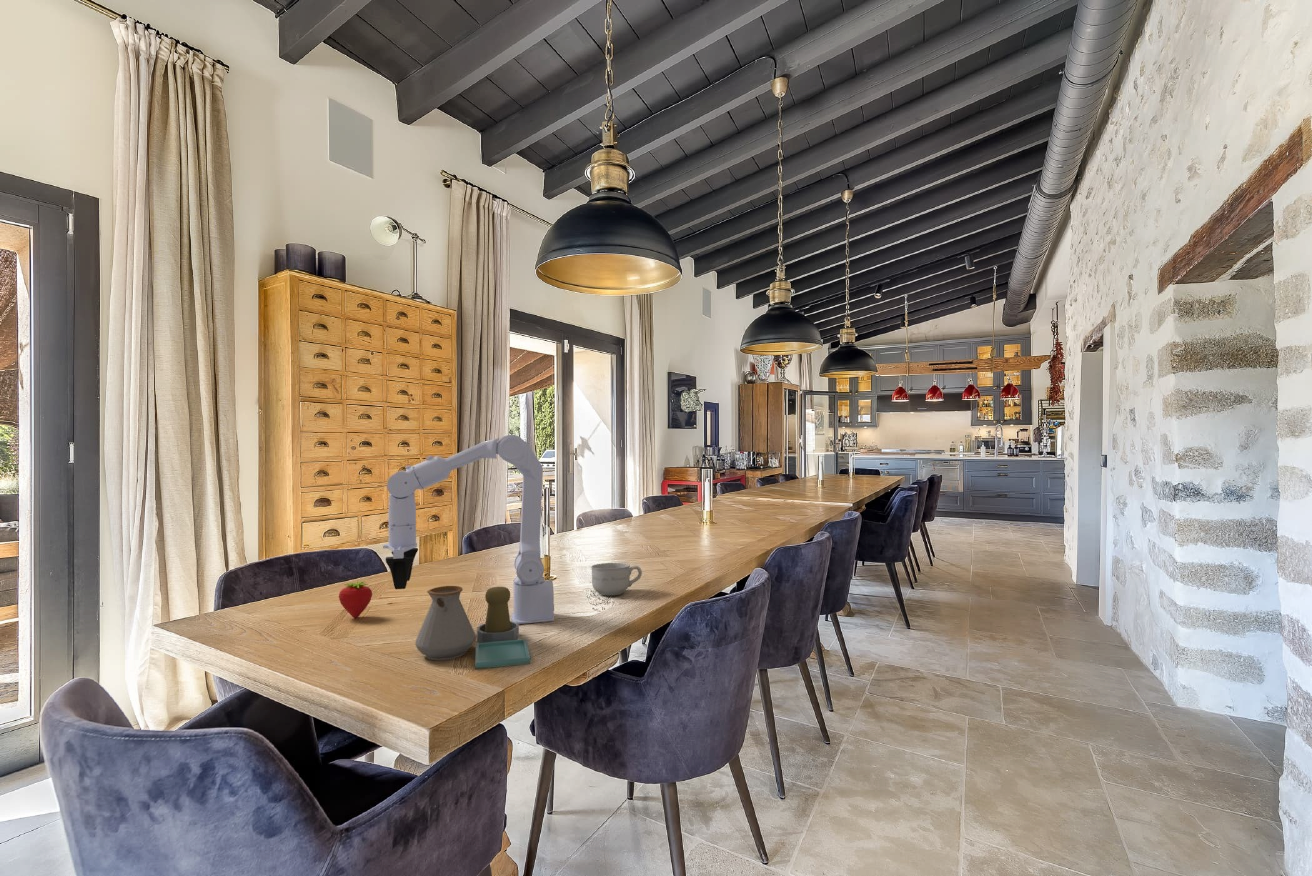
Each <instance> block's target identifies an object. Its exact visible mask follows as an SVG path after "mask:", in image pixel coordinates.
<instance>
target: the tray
mask: <svg viewBox="0 0 1312 876" xmlns="http://www.w3.org/2000/svg"><path fill="white" fill-rule="evenodd" d="M474 663H475V664H474V665H475V668H474V669H475V670H479V669H480V670H482V669H489V668H490V669H491V668H500V667H508V666H511V667H512V666H519V665H527V664H528V665H529V664H531V655H530V651H529V647H528V642H527V639H526V638H519V639H517V640H508V641H497V642H486V643H478V642H477V643H475V662H474Z"/></svg>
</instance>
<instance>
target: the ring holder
mask: <svg viewBox="0 0 1312 876" xmlns="http://www.w3.org/2000/svg"><path fill="white" fill-rule="evenodd" d="M485 624H486V622H484V623H482V624H480V625H479V626H477V627H476V642H477V643H486V642H497V641H508V640H519V639H520V635H519V633H520V631H519V629H520V628H519V624H518V623H515V622H512V620H510V624H511V630H509V631H506V632H498V633H488V632H484V631H485ZM518 638H519V639H518Z"/></svg>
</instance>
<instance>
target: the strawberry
mask: <svg viewBox="0 0 1312 876" xmlns="http://www.w3.org/2000/svg"><path fill="white" fill-rule="evenodd" d="M365 582H366V581H357V583H356V582H355V583H354V582H353V583H351V582H350V583H346V584H344V586H346V587H344V588H342V589H341V590H340V591H339V594H338V599H339V602H340V604H341V606H342V607H343V608H344V610H345V611H347V613H348V614H349V615H350V616H351V618H355V619H357V618H359V616H360V615H361V614H362V613H363V612H364V611H365V609H366V608H367V607H368V605H369V604H370V603H371V600H372V597H373V592H372V589H371V588H370V587H369V586H367V585H369V584H368V583H365Z"/></svg>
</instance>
